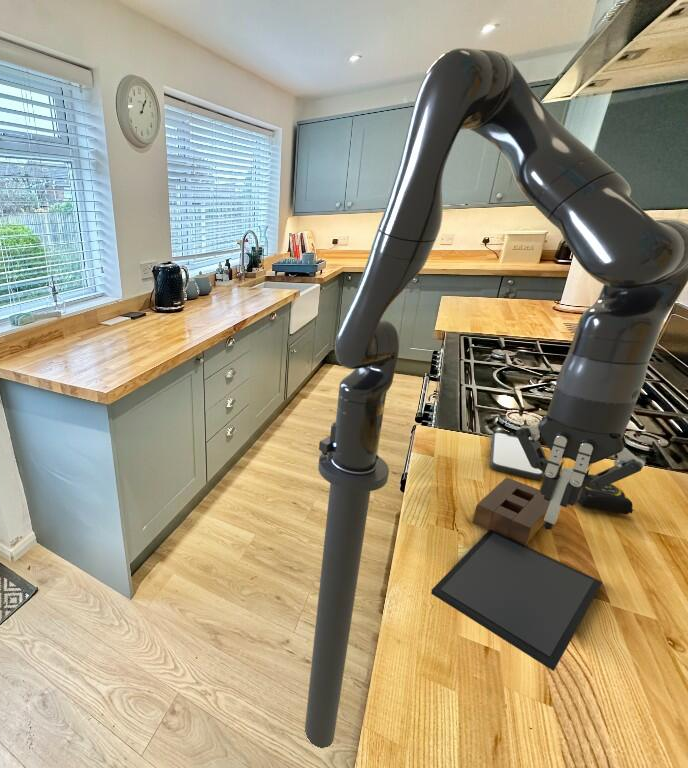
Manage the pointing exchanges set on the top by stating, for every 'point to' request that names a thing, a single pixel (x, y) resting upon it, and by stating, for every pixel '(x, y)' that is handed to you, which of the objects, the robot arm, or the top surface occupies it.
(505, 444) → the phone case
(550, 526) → the grey square rod
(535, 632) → the tablet
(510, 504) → the pen stand
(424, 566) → the top surface
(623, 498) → the tape measure
